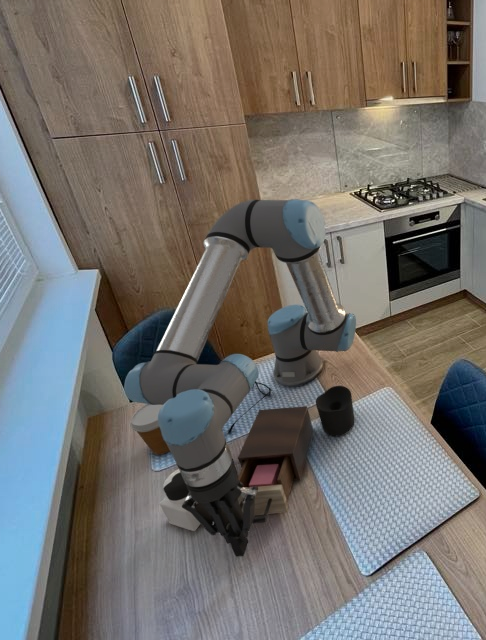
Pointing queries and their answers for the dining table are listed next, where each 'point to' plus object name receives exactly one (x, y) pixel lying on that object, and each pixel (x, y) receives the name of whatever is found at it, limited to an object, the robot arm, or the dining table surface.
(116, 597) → the dining table surface
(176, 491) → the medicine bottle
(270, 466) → the block
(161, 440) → the disposable coffee cup
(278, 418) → the cabinet
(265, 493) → the drawer
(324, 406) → the pen holder
